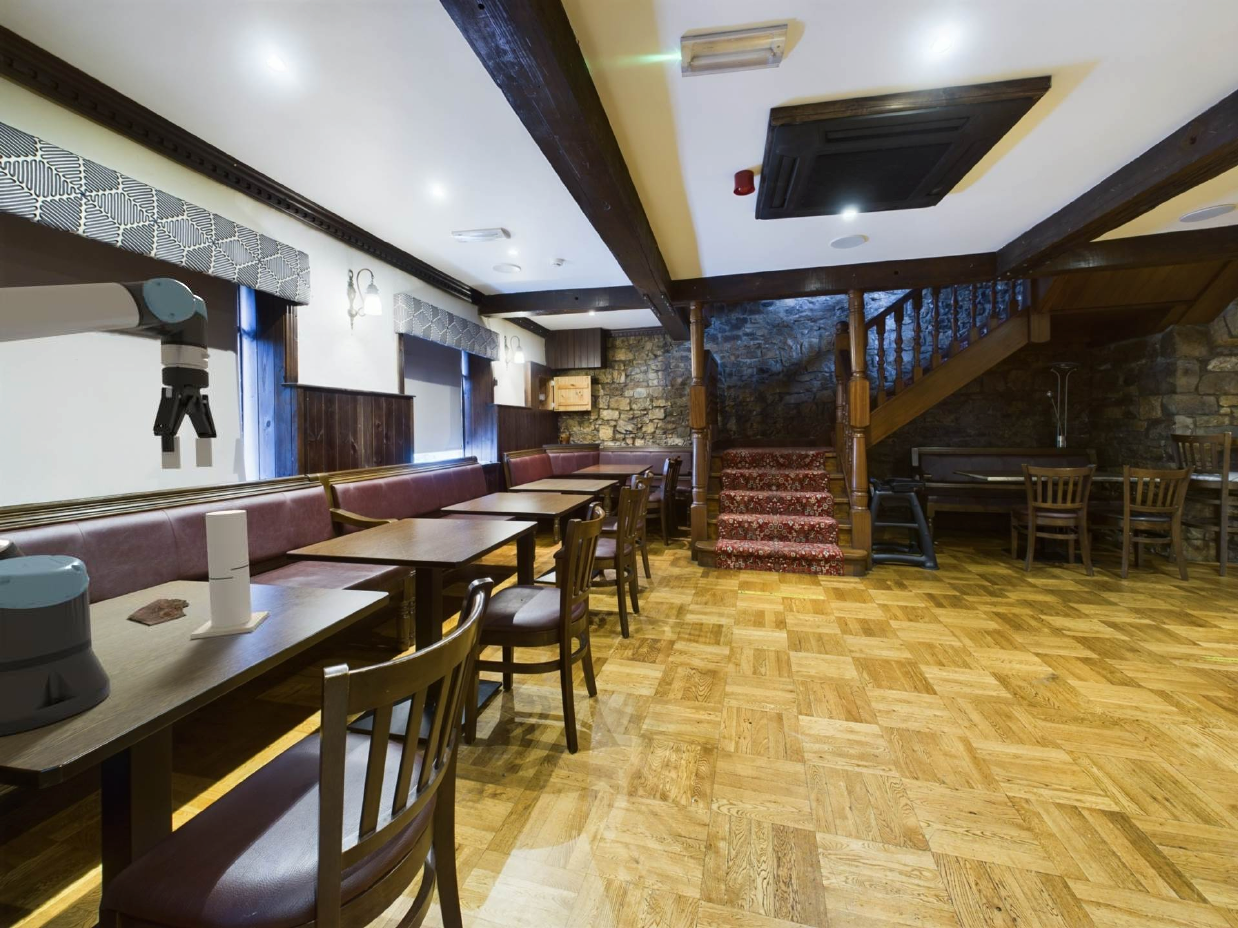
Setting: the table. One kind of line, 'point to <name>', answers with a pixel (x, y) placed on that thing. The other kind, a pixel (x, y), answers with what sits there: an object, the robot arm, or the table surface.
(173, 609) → the brown relief tablet
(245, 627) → the ceramic tile
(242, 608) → the cylindrical container
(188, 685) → the table surface
